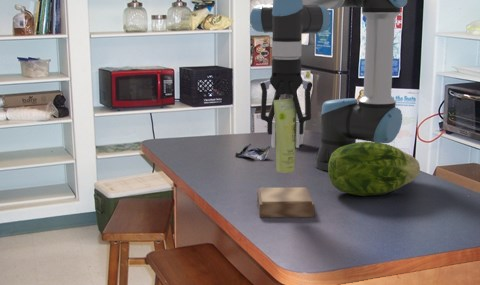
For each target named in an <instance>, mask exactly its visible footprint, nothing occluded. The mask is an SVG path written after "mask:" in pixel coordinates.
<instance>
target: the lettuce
mask: <svg viewBox="0 0 480 285" xmlns="http://www.w3.org/2000/svg"><path fill="white" fill-rule="evenodd" d="M420 167H421V166H420V162H419V161H418V160H417V158H415V157H414V156H413V155H411V154H410V153H409V154H408V153H407V152H404V151H402V150H401V149H399V148H398V147H395V146H393V145H390V144H388V143H375V142H370V141H360V142H359V141H358V142H357V141H356V143H353V144H349V145H346V146H343V147H340V148H338V149H337V150H335V151H334V152H333V153H332V155H331V157H330V160H329V164H328V171H327V172H328V173H327V174H328V178H329V179H330V182H331V184H332V186H333V187H335V188H336V189H337V190H338V191H340V192H343V193H346V194H351V195H354V196H361V197H364V196H365V197H366V196H367V197H368V196H369V197H370V196H379V195H385V194H388V193H391V192H393V191H396V190H398V189H400V188H402V187H403V186H405V185H407V184H410V183H412V182H413V181H414V180H415V179H416V178H417V177H419V175H420V172H421V168H420Z"/></svg>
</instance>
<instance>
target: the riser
mask: <svg viewBox="0 0 480 285" xmlns="http://www.w3.org/2000/svg"><path fill="white" fill-rule="evenodd" d="M256 190H257V193H256V194H257V196H256V197H257V199H256V200H257V208H258V213H259V214H258V215H259V218H313V217H314V215H315V214H314V213H315V212H314V211H315V203H314V201H313V198H312V196H311V194H310V192H309V190H308V188H306V187H300V186H299V187H295V186H294V187H259V188H257V189H256Z"/></svg>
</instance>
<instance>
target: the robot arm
mask: <svg viewBox="0 0 480 285" xmlns="http://www.w3.org/2000/svg"><path fill="white" fill-rule="evenodd" d="M272 2H273V3H270V4H264V3H262V4H259V5H256V6H254V7H253V8H252V9H251V11H250V15H249V20H250V25H251V27H252V29H253V30H254V31H256V32H260V33H261V32H262V33H266V34H267V33H272V38H271V40H272V41H271V42H272V43H271V56H272V57H273V59H271V76H270V78H269V79H268V80H265V81H260V82H259V85H260V88H261V103H260V105H261V106H260V119H261V121H265V122H267V123H266V124H267V128H266V131H267V132H266V133H267V135H271V139H270V140H271V143H270V144H271V146H270V147H271V149H272V148H273V149H274V148H275V149H276V136H275V120H274V119H275V114H274V100H280V99H281V95H291V97H292V98H293V101H294V105H295V108H296V112H297V116H298V120H299V121H296V136H295V149H296V148H297V149H298V148H300V145H299V134H303V131H304V122H305V121H306V122H307V121H310V120H312V111H311V110H312V108H311V107H312V105H311V102H312V101H311V99H312V98H311V91H312V88H313V86H314V85H313V82H311V81H306V80H304V79H303V77H302V59H300V57H302V48H303V47H302V42H303V41H302V40H303V39H302V38H303V36H302V34H303V35H304V34H307V35H308V34H309V35H310V34H312V35H313V34H315V35H316V34H318V33H319V34H320V33H323V32H325V31H326V30H328V28H329V26H330V25H331V13H330V11H329V9H330V10H336V9H339V8H361V14H362V16H364V18H366V21H365V22H366V27H365V45H364V46H365V49H364V50H365V51H364V52H365V53H364V70H363V71H364V72H363V74H364V78H363V95H362V96H361V97H360V98H359V99H357V98H351V97H350V98H337V99H330V100H326V101H324V102H323V103H322V104H321V105H322V106H321V113H320V116H321V123H320V124H321V126H320V130H321V131H320V146H319V149H318V151H317V154H316V157H315V162H314V163H315V164H314V166H315V167H316V168H317V169H319V170H323V171H326V172H328V164H329V160H330V157H331V155H332V153H333V152H334V151H335V150H337V149H338V148H340V147H343V146H346V145H349V144H353V143H357V141H358V140H359V141H363V142H375V143H383V144H390V143H392V142H393V141H394V140H395V139H396V137H397V136H398V134H399V133H400V130H401V129H402V128H401V127H402V124H403V113H402V110H401V109H400V108H398V107H397V106H396V104H397V102H396V101H397V100H395V99H394V98H393V96H392V84H393V61H394V43H395V41H394V40H395V22H396V18H397V17H398V16H399V15H400V14H401V8H404V7H405V6H406V5H407V4H408V0H273V1H272ZM270 85H271V86H272V87H273V89H274V90H275V93H274V96H273V99H272V102H271V105H270V109H269V112H268V114H267V101H268V99H267V97H268V90H269V89H270ZM301 85H302V89H303V90H304V111H305V115H304V116H303V115H302V111H301V110H302V108H301V104H300V100H299V98H298V93H297V91H298V89H299V88H300V87H301ZM304 132H305V131H304Z"/></svg>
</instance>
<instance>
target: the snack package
mask: <svg viewBox="0 0 480 285" xmlns="http://www.w3.org/2000/svg"><path fill="white" fill-rule="evenodd" d="M250 147H252V144H251V143H249V144H248V145H246V146H244V147H243V149H242V150H241V151H240V152H239V153H238V152H235V154H234V155H235V157H238V158H250V159H253V160H254V158H256V157H257V158H256V159H257V160H259V159H260V160H259V161H261V162H262V161H265V159H266V158H267V156H268V155H269V151H270V149H271V146H270V145H269V146H267V147H266V148H264V147H257V148H251V149H249V148H250ZM249 156H253V157H249Z"/></svg>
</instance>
